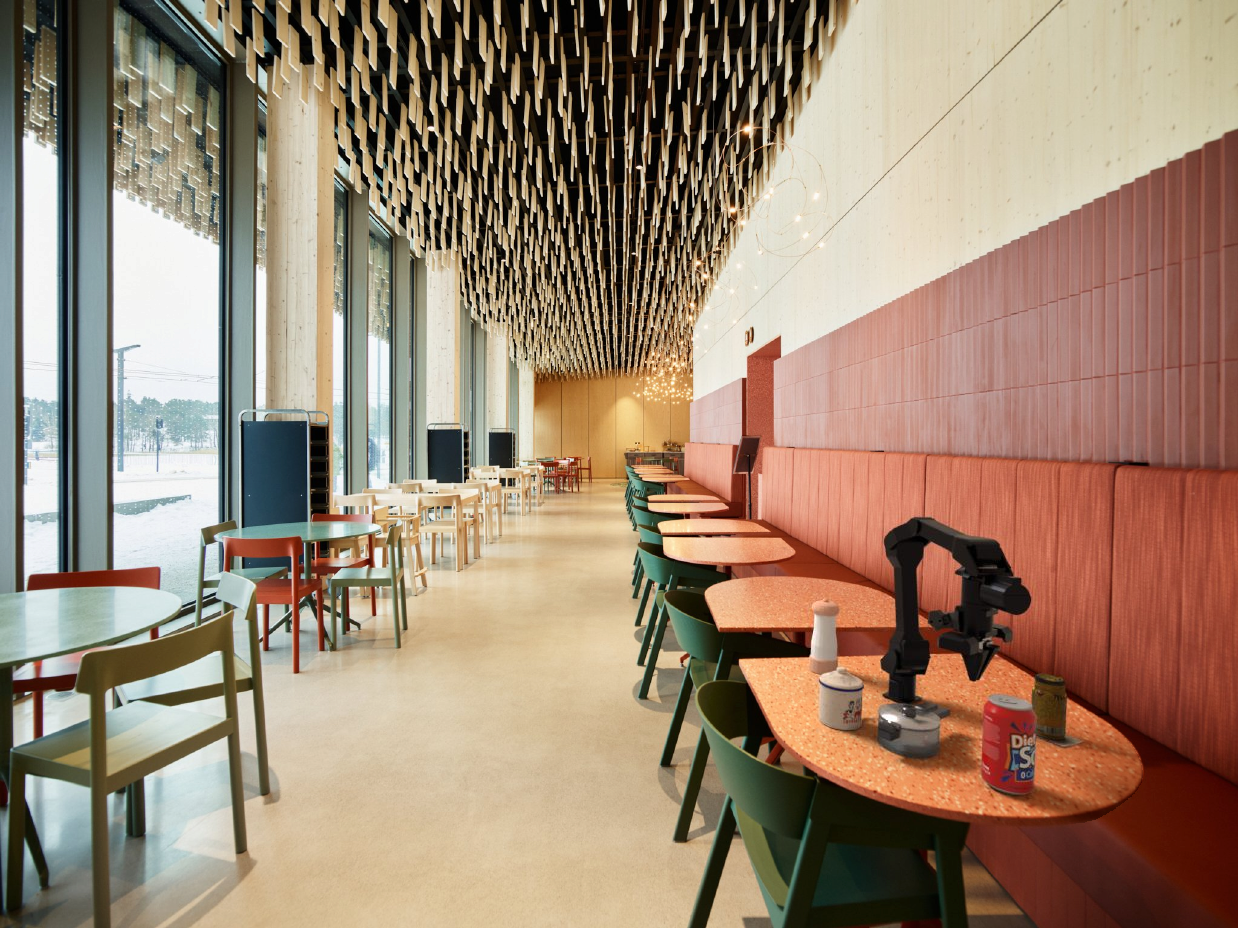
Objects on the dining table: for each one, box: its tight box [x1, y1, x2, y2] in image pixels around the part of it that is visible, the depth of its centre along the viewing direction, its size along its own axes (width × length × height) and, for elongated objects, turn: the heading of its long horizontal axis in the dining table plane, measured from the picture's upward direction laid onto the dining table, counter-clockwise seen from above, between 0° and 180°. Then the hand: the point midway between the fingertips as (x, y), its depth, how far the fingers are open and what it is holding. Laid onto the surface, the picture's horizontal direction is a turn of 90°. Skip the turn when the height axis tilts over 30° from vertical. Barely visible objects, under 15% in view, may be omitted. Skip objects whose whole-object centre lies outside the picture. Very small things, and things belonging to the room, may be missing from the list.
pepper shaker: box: [808, 597, 840, 675], centre depth 165 cm, size 7×7×19 cm
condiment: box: [1030, 673, 1085, 748], centre depth 129 cm, size 7×8×12 cm
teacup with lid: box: [818, 666, 865, 731], centre depth 134 cm, size 12×9×12 cm
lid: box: [877, 700, 942, 731], centre depth 124 cm, size 15×11×2 cm
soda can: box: [980, 693, 1037, 796], centre depth 108 cm, size 8×8×15 cm
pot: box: [877, 704, 951, 760], centre depth 124 cm, size 22×11×6 cm, turn 125°
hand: (974, 680), depth 123 cm, fingers closed
